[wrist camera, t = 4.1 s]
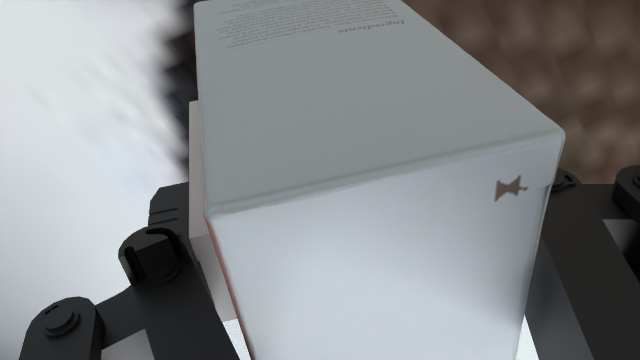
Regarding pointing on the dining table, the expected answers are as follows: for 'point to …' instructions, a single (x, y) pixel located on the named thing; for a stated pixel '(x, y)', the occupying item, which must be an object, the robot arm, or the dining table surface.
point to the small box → (366, 182)
